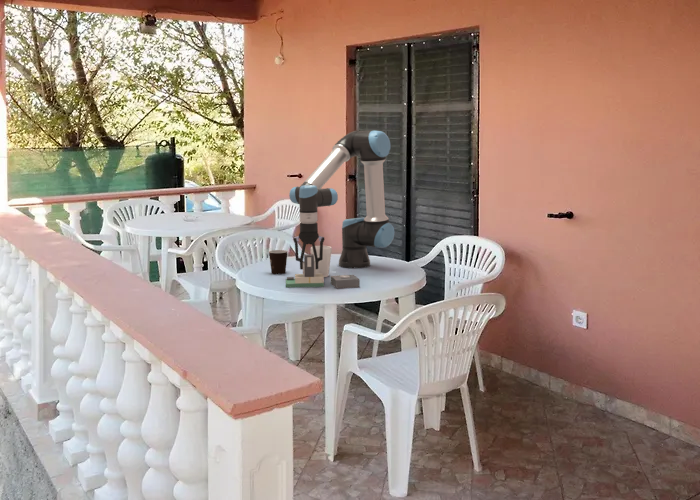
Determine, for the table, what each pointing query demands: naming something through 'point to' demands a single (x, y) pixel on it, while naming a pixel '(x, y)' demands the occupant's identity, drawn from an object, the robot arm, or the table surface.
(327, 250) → the foam cup
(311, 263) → the plug
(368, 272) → the table surface
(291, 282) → the board
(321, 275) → the socket
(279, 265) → the coffee mug
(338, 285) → the dark grey box
